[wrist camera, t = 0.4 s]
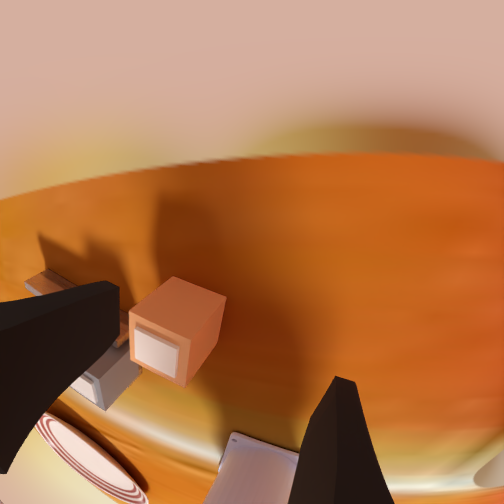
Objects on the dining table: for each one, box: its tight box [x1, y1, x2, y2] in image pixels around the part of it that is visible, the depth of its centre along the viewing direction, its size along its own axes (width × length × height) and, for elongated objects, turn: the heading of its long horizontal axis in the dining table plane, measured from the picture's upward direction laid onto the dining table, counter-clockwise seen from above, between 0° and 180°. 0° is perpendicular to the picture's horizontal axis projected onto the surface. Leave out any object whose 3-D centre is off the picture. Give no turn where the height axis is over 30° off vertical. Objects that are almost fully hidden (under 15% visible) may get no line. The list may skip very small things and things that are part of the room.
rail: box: [24, 269, 142, 387], centre depth 24 cm, size 6×12×3 cm, turn 77°
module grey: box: [70, 338, 139, 411], centre depth 21 cm, size 4×4×5 cm
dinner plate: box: [35, 412, 149, 504], centre depth 42 cm, size 28×27×3 cm
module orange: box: [129, 276, 227, 388], centre depth 19 cm, size 4×4×5 cm
